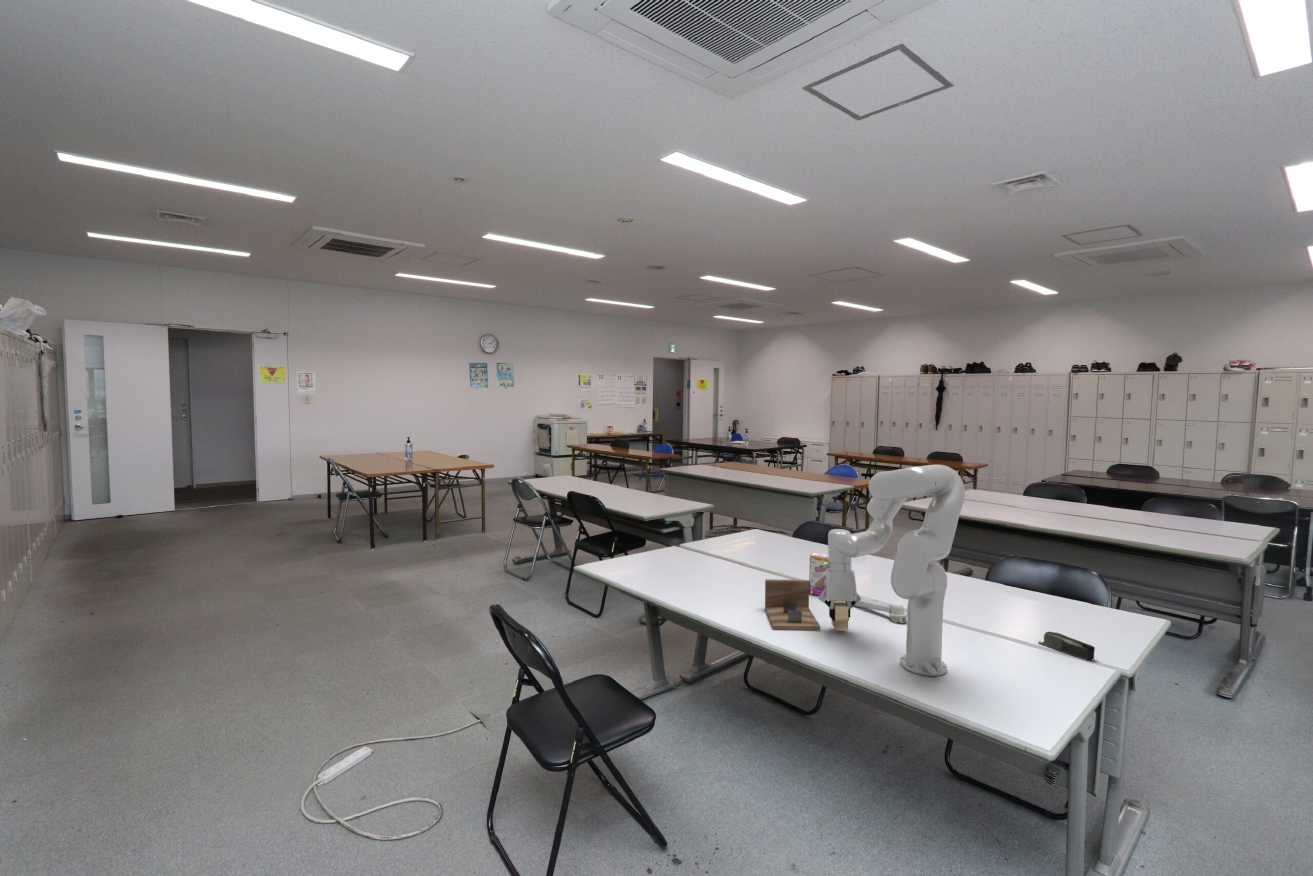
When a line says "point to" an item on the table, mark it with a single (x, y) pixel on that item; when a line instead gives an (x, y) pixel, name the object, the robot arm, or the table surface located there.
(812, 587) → the candy bar box
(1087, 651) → the dark green stapler
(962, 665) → the table surface
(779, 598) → the wooden bookend
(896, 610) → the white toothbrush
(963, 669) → the table surface
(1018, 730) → the table surface
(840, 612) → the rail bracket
